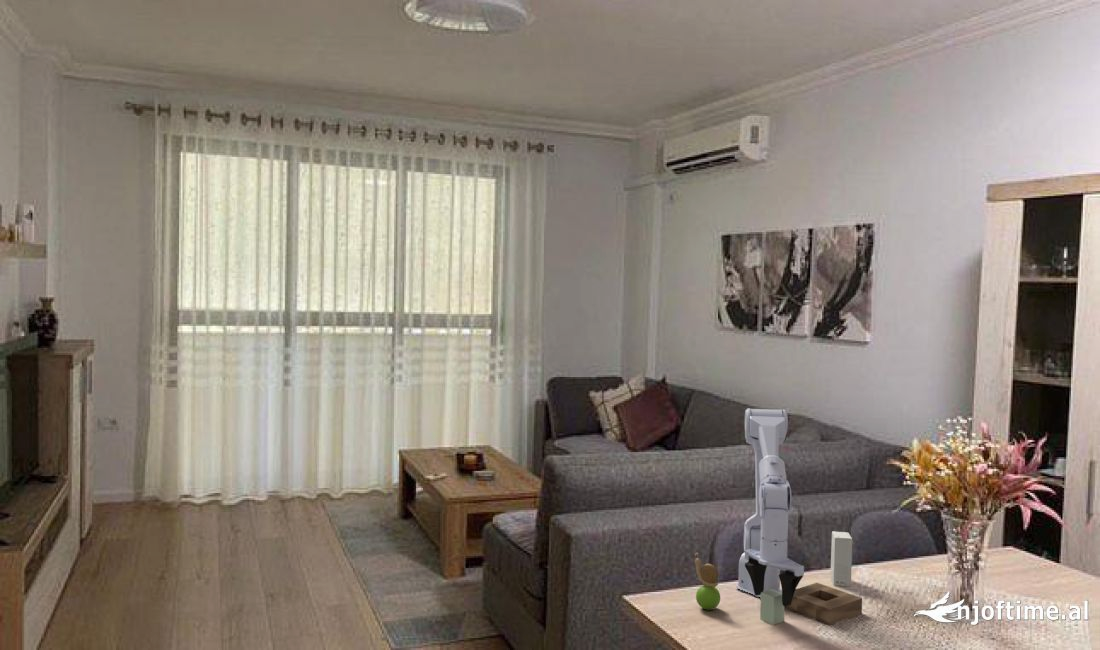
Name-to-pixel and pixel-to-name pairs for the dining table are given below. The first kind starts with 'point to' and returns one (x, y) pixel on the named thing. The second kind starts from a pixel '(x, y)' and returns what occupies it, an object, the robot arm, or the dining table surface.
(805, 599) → the walnut socket block
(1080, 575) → the dining table surface
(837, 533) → the skincare box
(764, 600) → the sage peg
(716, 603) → the snail figurine
